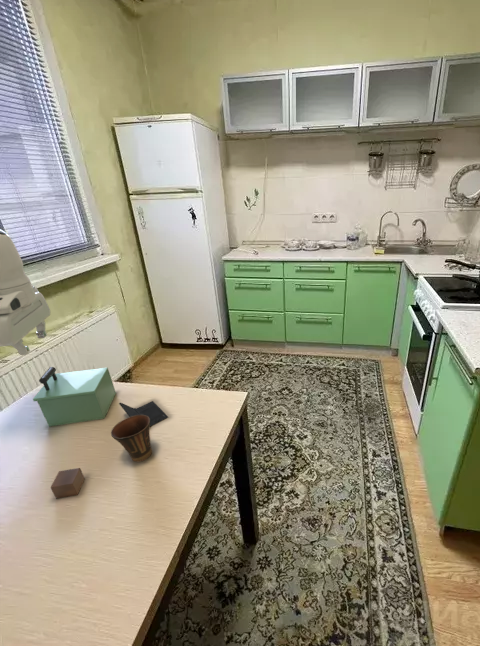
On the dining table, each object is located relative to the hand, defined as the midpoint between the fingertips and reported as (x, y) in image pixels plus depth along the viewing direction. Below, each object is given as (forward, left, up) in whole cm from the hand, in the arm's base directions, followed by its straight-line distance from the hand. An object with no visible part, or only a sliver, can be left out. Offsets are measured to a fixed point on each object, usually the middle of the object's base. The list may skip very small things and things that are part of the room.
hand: (34, 345), depth 86 cm
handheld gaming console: (+24, -7, -24) cm, 35 cm away
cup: (+25, -21, -24) cm, 41 cm away
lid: (+5, +1, -14) cm, 15 cm away
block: (+12, -29, -24) cm, 40 cm away
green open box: (+5, +1, -24) cm, 25 cm away
